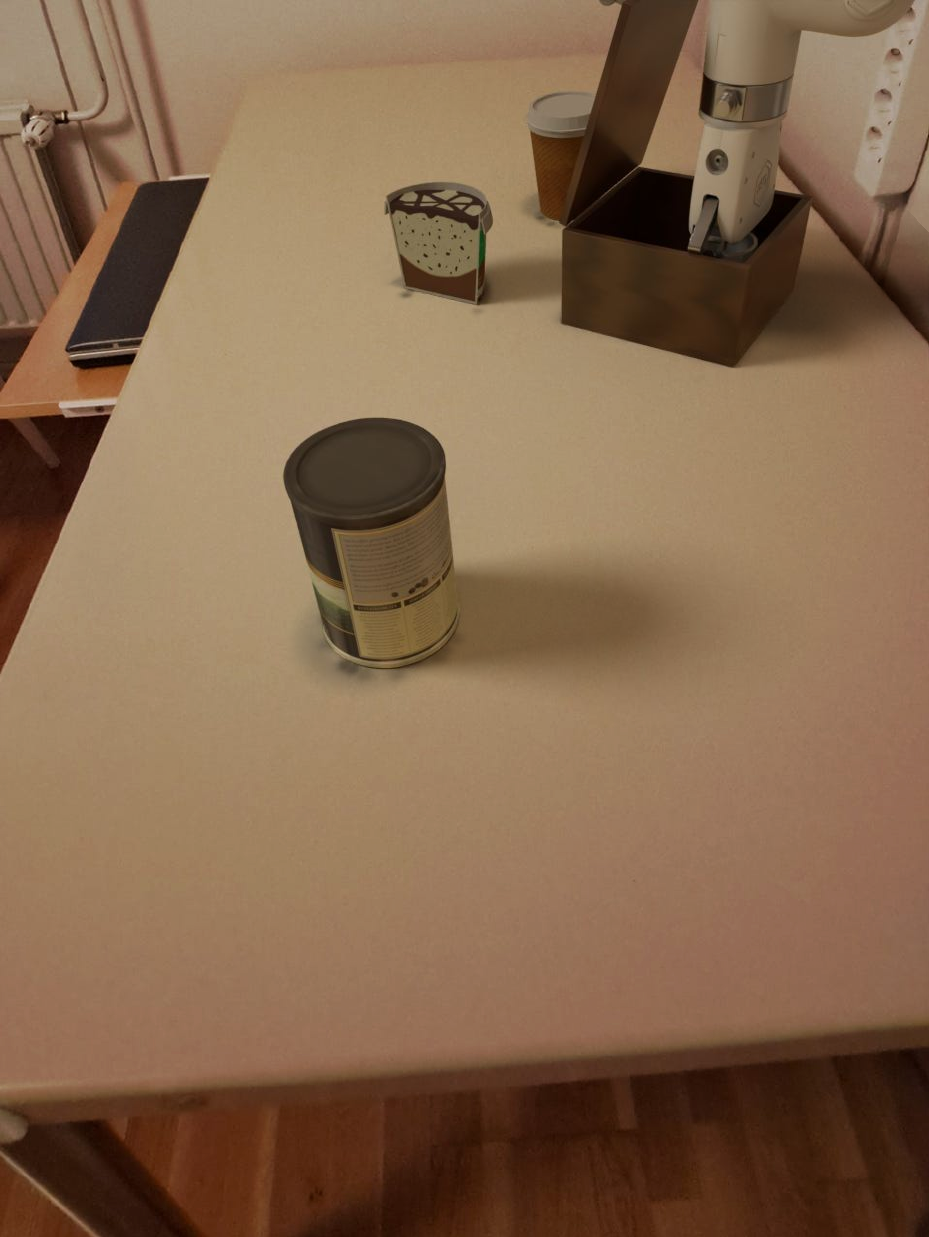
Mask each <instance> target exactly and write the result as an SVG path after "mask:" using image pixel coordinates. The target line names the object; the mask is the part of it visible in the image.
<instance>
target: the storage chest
mask: <svg viewBox="0 0 929 1237" xmlns="http://www.w3.org/2000/svg"><path fill="white" fill-rule="evenodd" d="M694 176H695V175H689V174H684V173H679V172H673V171H667V170H661V169H655V168H649V167H644V166H638V167H636V168H635V169H634V170H633V171H632V172H630V173H629V174H628V175H627V176H626V177H624V178H623V179H622V180H621V181H620V182H618V183H617V184H616V185H615V186H614V187H612V188H611V189H610V190H609V191H608V192H606V193H605V194H604V195H603V196H602V197H600V198H599V199H598V200H597V201H596V202H594V203H593V204H592V206H590V207H589V208H588V209H587V210H586V211H584V212H583V213H582V214H581V215H580V216H578V217H577V218H576V219H574V220H573V221H572V222H571V223H569V224H568V225H567V226H566V227H565V226H564V228H563V229H562V230H561V238H562V239H561V312H560V313H561V316H560V317H561V318H560V323H561V324H563V325H567V326H570V327H574V328H578V329H582V330H586V331H590V332H594V333H597V334H601V335H605V336H609V337H613V338H617V339H621V340H624V341H628V342H633V343H636V344H640V345H643V346H649V347H652V348H655V349H660V350H664V351H667V352H671V353H676V354H679V355H684V356H688V357H691V358H695V359H698V360H702V361H706V362H711V363H713V364H717V365H723V366H725V367H726V366H727V367H730V368H734V367H735V366H736V365H737V364H738V362H739V361H740V359H741V358H742V357H743V356H744V354H745V353H746V352H747V351H748V350H749V348H750V347H751V346H752V345H753V343H754V342H755V341H756V340H757V338H758V337H759V336H760V334H761V333H762V332H763V331H764V329H765V328H766V327H767V326H768V325H769V323H770V322H771V320H772V319H773V318H774V316H776V314H777V313H778V311H779V310H780V309H781V308H782V306H783V305H784V304H785V303H786V301H788V299H789V297H790V296H791V295H792V294H793V293H794V291H795V288H796V282H797V277H798V273H799V268H800V263H801V257H802V253H803V248H804V243H805V238H806V233H807V226H808V222H809V217H810V212H811V207H812V203H813V196H812V195H808V194H807V195H806V194H801V193H795V192H790V191H783V190H778V189H775V190H774V197H773V203H772V206H771V208H770V210H769V211H768V213H767V214H766V215H765V216H764V218H763V219H762V220H761V221H760V222H759V223H758V224H757V225H756V228H755V232H754V236H755V237H756V238H757V239H758V247H757V250H756V251H755V252H754V253H753V254H752V255H751V256H750V257H749V259H748V260H747V261H746V262H745V263H744V264H743V263H738V262H733V261H728V260H723V259H719V258H714V257H709V256H704V255H699V254H694V253H690V252H688V245H689V238H690V237H691V236H692V235H691V233H690V231H689V215H690V204H691V196H692V189H693V182H694Z"/></svg>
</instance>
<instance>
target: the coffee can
mask: <svg viewBox="0 0 929 1237" xmlns="http://www.w3.org/2000/svg"><path fill="white" fill-rule="evenodd" d="M446 471H447V460H446V453H445V450H444V447H443V446H442V443H440V440H438V439H437V438H436V436H435V435H434V434H432V433H431V432H430V431H429V430H427V429H426V428H424V427H422V426H420V425H418V424H415V423H413V422H411V421H408V420H404V419H398V418H390V417H361V418H356V419H350V420H347V421H342V422H338V423H336V424H333V425H330V426H328V427H325V428H323V429H321V430H318V431H317V432H315V433H313V434H311V435H309V436H308V437H306V438H305V439H304V440H303V441H302V442H300V443H299V444H298V446H296V448H295V449H293V451H292V452H291V453H290V455H289V457H288V458H287V460H286V462H285V465H284V467H283V472H282V473H283V474H282V479H283V480H282V481H283V485H284V488H285V492H286V494H287V497H288V499H289V500H290V505H291V509H292V513H293V516H294V519H295V522H296V527H297V530H298V536H299V539H300V541H301V542H300V543H301V545H302V549H303V553H304V557H305V560H306V565H307V569H308V572H309V577H310V580H311V584H312V588H313V592H314V596H315V599H316V604H317V608H318V610H319V615H320V619H321V623H322V625H321V626H322V632H323V635H324V637H325V640H326V642H327V643H328V645H329V646H330V647H331V649H332V650H333V651H334V652H336V654H338V655H339V656H341V658H343V659H345V660H347V661H349V662H351V663H353V664H356V665H360V666H363V667H366V668H375V669H390V668H391V669H392V668H398V667H400V668H401V667H403V666H408V665H412V664H414V663H418V662H421V661H423V660H425V659H426V658H428V657H430V656H432V655H433V654H435V653H436V652H438V651H439V650H440V649H441V648H443V646H444V645H446V644H447V642H448V641H449V640H450V639H451V637H452V636H453V634H454V632H455V630H456V629H457V627H458V624H459V621H460V602H459V600H458V592H457V591H458V590H457V583H456V582H457V581H456V573H455V563H454V553H453V552H454V551H453V542H452V532H451V522H450V521H451V520H450V513H449V502H448V492H447V484H446V483H447V482H446Z"/></svg>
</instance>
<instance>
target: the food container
mask: <svg viewBox="0 0 929 1237" xmlns="http://www.w3.org/2000/svg"><path fill="white" fill-rule="evenodd" d="M385 199H386V200H385V201H384V208H383V209H384V211H383V212H384V214H383V215H384V216H386V215H388V216H389V220H390V224H391V225H390V226H391V230H392V236H393V240H394V246H395V249H396V254H397V260H398V264H399V269H400V274H401V278H402V283H403V288H404V289H406V290H410V291H414V292H418V293H424V294H428V295H432V296H437V297H440V298H445V299H449V300H453V301H457V302H463V303H467V304H471V305H476V306H478V305H479V303H481V302H482V300H483V297H484V294H485V277H486V276H485V275H486V274H485V272H486V253H487V252H486V251H487V250H486V249H487V233H488V232H489V231H490V230H491V228H492V227H493V224H494V218H493V213H492V209H491V205H490V203H489V201H488V199H487V197H486V195H485V193H483V191H481V190H479V188H476V187H474V186H471V185H469V184H465V183H461V182H453V181H427V182H422V183H415V184H412V185H408V186H404V187H401V188H398V189H396V190H394V191H391V192H390V193H389V194H387V195H385Z"/></svg>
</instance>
